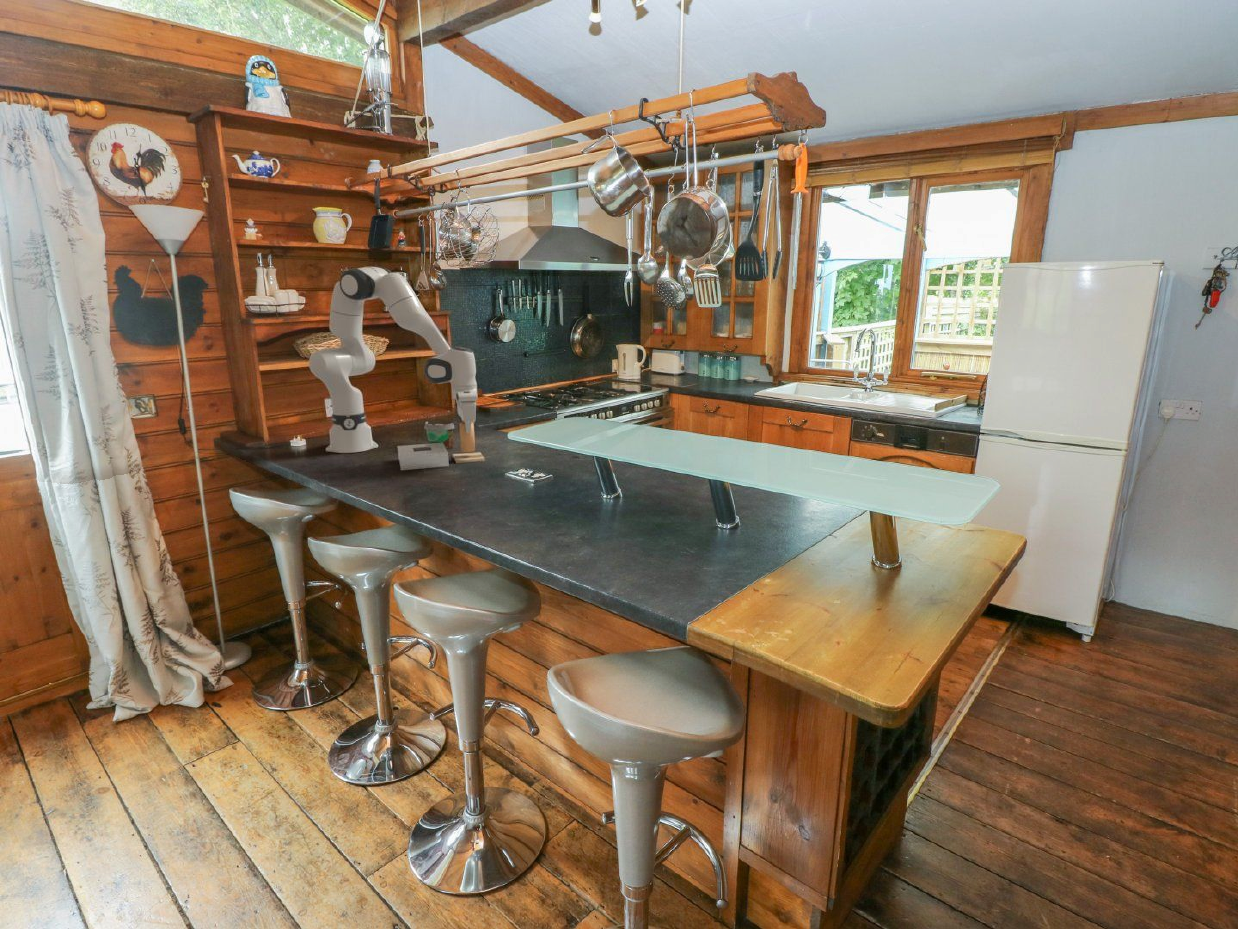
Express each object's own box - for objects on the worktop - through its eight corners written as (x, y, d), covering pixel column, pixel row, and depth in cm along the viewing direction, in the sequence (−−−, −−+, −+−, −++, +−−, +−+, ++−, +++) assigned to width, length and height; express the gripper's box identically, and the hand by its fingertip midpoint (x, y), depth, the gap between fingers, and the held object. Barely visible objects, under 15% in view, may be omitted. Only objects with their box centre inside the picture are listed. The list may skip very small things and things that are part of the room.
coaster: (453, 456, 246) (452, 454, 246) (480, 454, 250) (480, 451, 249) (456, 463, 237) (456, 460, 237) (484, 460, 240) (484, 458, 240)
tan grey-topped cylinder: (460, 449, 244) (458, 420, 241) (474, 448, 246) (472, 419, 243) (462, 452, 239) (460, 423, 237) (476, 451, 241) (474, 422, 238)
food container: (419, 449, 257) (417, 424, 255) (428, 446, 263) (426, 421, 260) (447, 451, 254) (445, 426, 251) (456, 448, 260) (454, 423, 257)
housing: (398, 459, 243) (397, 446, 241) (443, 455, 248) (442, 442, 247) (401, 470, 228) (399, 456, 227) (448, 466, 233) (447, 452, 232)
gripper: (452, 389, 245) (454, 426, 249) (459, 397, 227) (461, 437, 230) (469, 388, 248) (471, 425, 251) (478, 396, 229) (480, 436, 233)
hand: (467, 431), depth 241 cm, fingers closed on tan grey-topped cylinder, 5 cm apart
